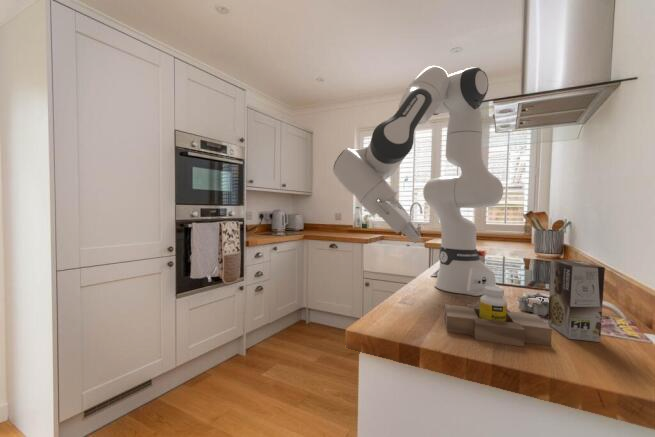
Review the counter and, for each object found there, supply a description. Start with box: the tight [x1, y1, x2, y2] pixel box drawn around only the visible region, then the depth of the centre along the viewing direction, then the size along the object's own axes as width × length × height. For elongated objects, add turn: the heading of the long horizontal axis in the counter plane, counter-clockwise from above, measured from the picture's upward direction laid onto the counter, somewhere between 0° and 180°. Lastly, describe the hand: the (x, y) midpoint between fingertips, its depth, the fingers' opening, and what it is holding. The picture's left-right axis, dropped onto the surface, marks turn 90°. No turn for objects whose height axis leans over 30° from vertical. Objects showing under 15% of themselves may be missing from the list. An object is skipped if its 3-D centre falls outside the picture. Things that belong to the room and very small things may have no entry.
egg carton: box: [517, 292, 549, 317], centre depth 85 cm, size 11×8×4 cm
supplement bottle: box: [479, 286, 508, 322], centre depth 70 cm, size 5×5×10 cm
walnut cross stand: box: [443, 303, 553, 347], centre depth 70 cm, size 14×20×4 cm
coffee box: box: [547, 259, 606, 343], centre depth 69 cm, size 9×6×16 cm
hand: (418, 238), depth 77 cm, fingers open, 8 cm apart
